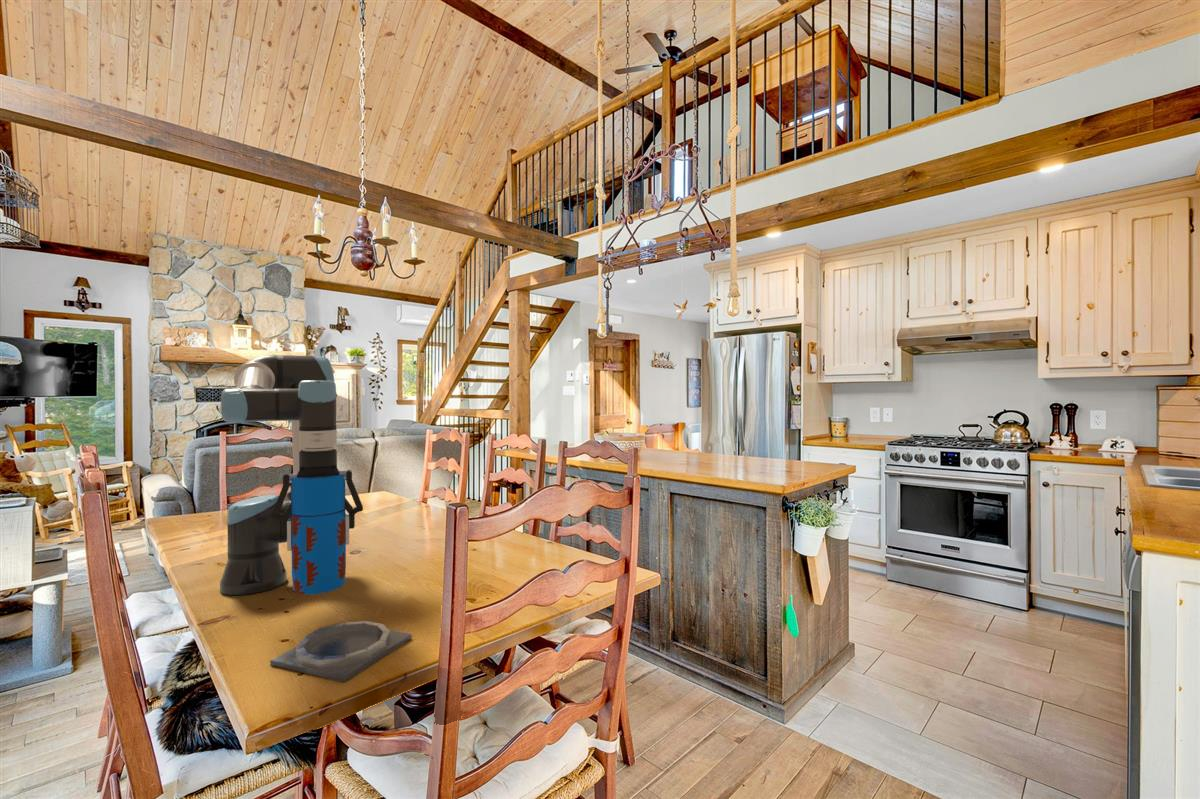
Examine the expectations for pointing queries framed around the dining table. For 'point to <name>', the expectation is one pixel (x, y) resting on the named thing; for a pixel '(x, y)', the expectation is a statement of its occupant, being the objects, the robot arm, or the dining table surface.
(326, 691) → the dining table surface
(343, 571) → the thermos
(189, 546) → the dining table surface
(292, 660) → the collar dock
